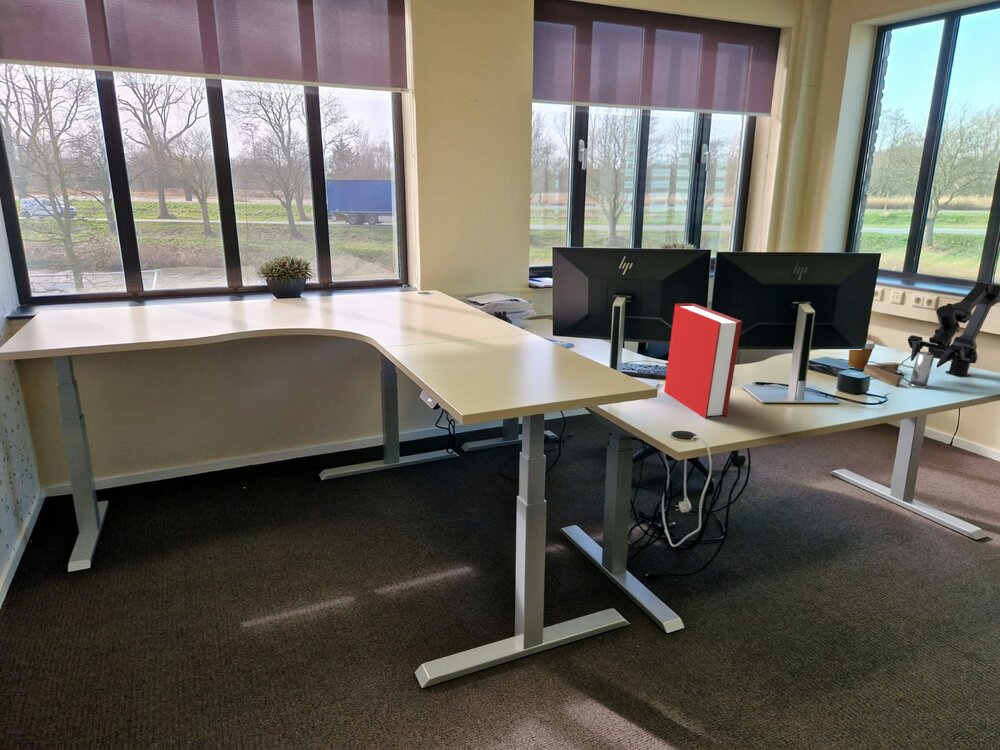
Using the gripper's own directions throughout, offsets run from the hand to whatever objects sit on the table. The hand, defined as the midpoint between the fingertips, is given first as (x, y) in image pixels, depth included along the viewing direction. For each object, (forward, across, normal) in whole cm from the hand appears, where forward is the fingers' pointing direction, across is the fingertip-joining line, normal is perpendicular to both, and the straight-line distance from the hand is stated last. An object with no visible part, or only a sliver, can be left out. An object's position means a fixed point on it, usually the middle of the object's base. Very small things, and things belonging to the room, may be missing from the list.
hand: (924, 363), depth 241 cm
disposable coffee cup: (+7, +24, -6) cm, 26 cm away
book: (+76, +27, +61) cm, 101 cm away
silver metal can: (+7, 0, -6) cm, 9 cm away
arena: (+6, +9, -6) cm, 13 cm away
